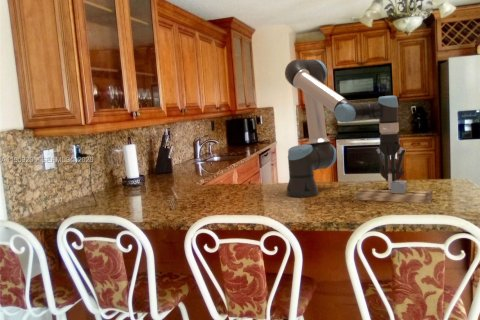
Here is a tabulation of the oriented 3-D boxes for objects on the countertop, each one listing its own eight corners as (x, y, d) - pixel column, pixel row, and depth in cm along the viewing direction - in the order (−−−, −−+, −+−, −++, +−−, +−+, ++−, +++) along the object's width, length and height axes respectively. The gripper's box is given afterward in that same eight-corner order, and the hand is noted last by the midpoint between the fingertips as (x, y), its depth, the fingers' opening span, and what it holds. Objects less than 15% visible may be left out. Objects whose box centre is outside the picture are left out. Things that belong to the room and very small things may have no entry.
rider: (391, 197, 171) (390, 183, 170) (394, 194, 177) (394, 180, 176) (404, 198, 168) (403, 183, 167) (407, 194, 174) (406, 180, 173)
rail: (354, 199, 178) (354, 190, 178) (359, 195, 185) (359, 187, 185) (430, 203, 163) (429, 193, 162) (432, 198, 169) (432, 189, 169)
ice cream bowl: (400, 187, 198) (399, 156, 196) (407, 191, 187) (406, 159, 185) (378, 188, 199) (377, 157, 197) (383, 192, 188) (382, 160, 186)
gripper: (371, 134, 171) (373, 189, 174) (404, 133, 164) (405, 191, 167) (375, 133, 178) (377, 186, 180) (407, 131, 171) (409, 187, 173)
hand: (391, 188), depth 174 cm, fingers closed
